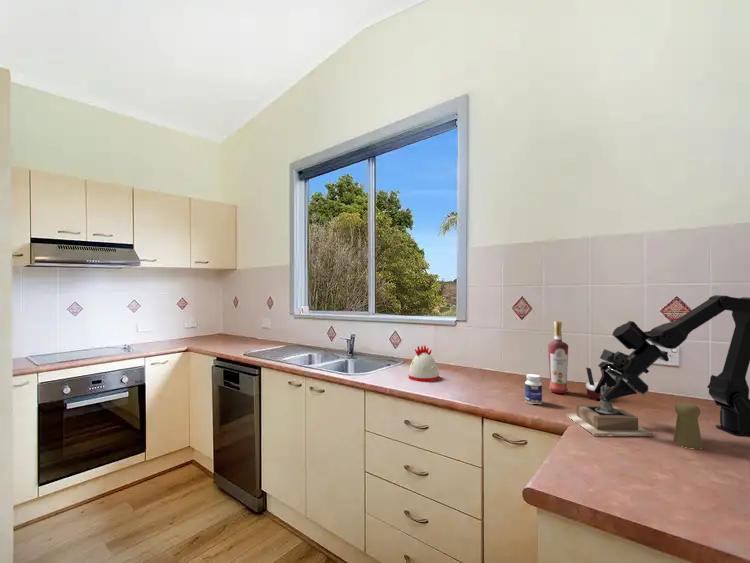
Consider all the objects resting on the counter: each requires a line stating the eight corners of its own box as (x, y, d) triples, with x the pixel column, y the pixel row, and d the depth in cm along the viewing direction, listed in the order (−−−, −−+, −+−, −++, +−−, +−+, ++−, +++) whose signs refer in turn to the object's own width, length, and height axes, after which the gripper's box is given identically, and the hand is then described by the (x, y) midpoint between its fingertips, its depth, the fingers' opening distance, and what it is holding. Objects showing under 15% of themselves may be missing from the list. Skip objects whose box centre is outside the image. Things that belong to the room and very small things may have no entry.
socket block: (651, 436, 105) (651, 420, 105) (594, 436, 105) (593, 420, 105) (616, 416, 121) (616, 402, 121) (566, 416, 121) (566, 402, 121)
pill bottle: (532, 405, 132) (531, 377, 132) (521, 401, 137) (521, 374, 137) (545, 404, 133) (545, 376, 134) (534, 399, 139) (534, 372, 139)
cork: (673, 437, 104) (673, 398, 104) (702, 443, 100) (701, 402, 100) (673, 445, 99) (672, 403, 99) (703, 451, 96) (702, 408, 96)
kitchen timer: (404, 375, 177) (403, 344, 177) (430, 373, 181) (430, 342, 181) (416, 383, 164) (415, 348, 164) (444, 380, 168) (443, 347, 168)
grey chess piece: (623, 425, 111) (622, 384, 111) (606, 426, 110) (605, 386, 110) (606, 418, 117) (606, 379, 117) (590, 419, 115) (590, 381, 115)
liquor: (550, 394, 145) (549, 322, 146) (546, 389, 153) (545, 320, 153) (571, 395, 144) (570, 322, 144) (566, 390, 151) (565, 321, 151)
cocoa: (600, 396, 143) (600, 365, 144) (612, 401, 137) (612, 368, 138) (577, 396, 142) (577, 365, 143) (589, 401, 136) (589, 368, 136)
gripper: (604, 336, 122) (569, 369, 123) (635, 346, 104) (593, 384, 105) (631, 361, 121) (594, 394, 122) (667, 375, 102) (624, 413, 104)
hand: (600, 395), depth 113 cm, fingers open, 7 cm apart
